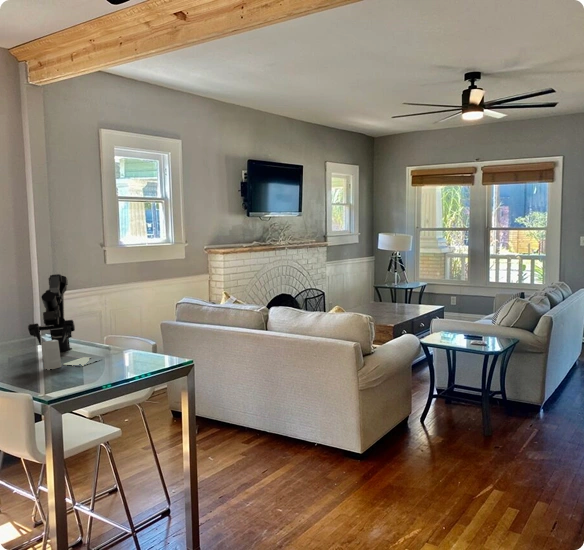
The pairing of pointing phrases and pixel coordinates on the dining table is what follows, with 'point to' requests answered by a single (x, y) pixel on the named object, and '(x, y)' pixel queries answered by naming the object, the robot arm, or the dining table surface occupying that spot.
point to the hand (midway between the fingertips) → (51, 343)
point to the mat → (78, 361)
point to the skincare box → (51, 354)
